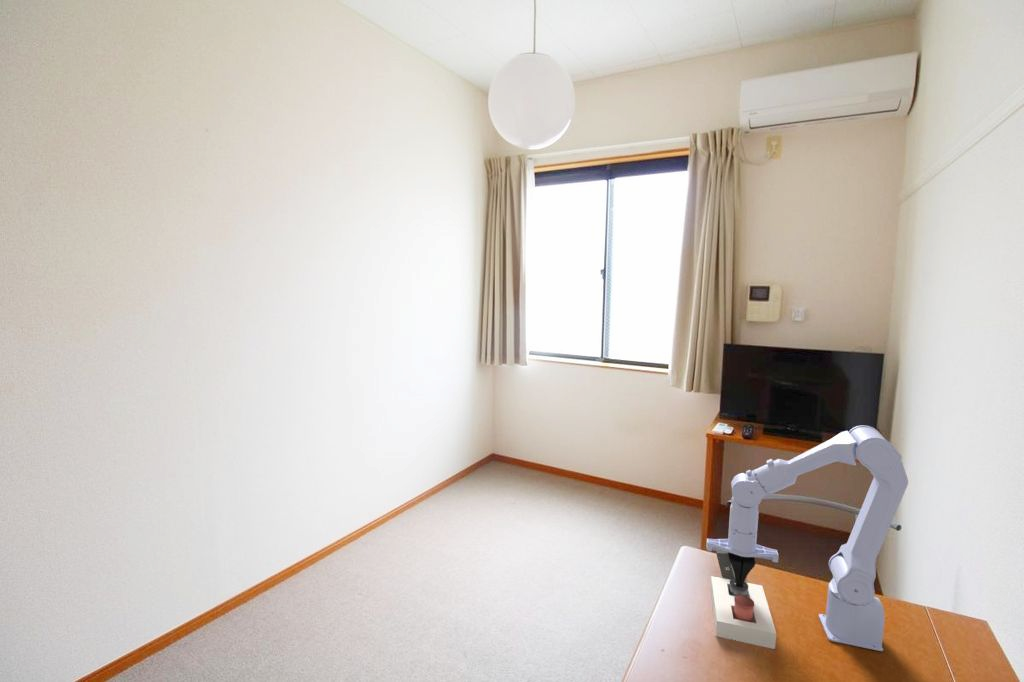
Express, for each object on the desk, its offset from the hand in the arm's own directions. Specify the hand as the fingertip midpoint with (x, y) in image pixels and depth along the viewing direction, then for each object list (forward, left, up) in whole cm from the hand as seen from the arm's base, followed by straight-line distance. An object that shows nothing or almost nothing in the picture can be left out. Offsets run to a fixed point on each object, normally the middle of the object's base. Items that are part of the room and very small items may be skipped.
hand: (738, 584), depth 109 cm
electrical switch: (0, -11, -6) cm, 12 cm away
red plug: (0, +8, -3) cm, 8 cm away
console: (0, +4, -5) cm, 7 cm away
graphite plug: (0, 0, -4) cm, 4 cm away
